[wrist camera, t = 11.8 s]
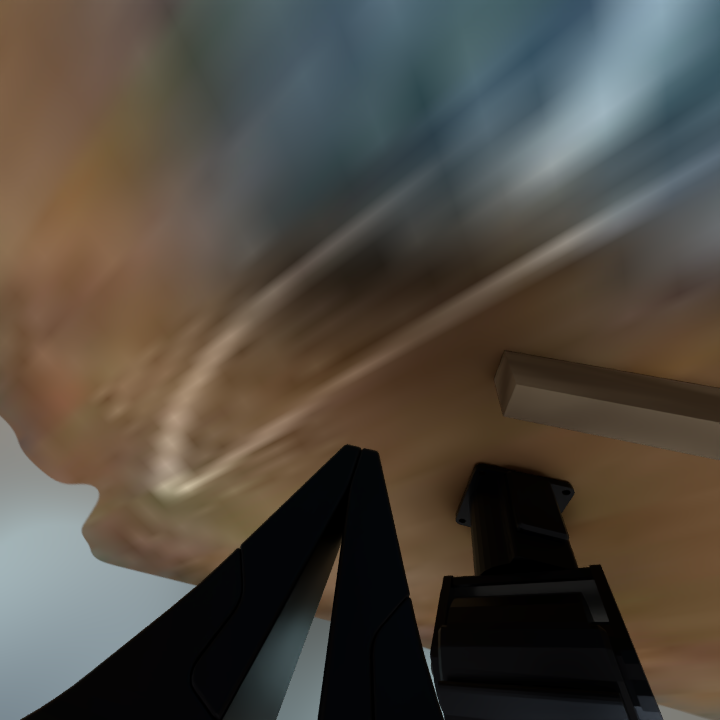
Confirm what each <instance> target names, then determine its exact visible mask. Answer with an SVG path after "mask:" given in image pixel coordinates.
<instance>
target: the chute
mask: <svg viewBox="0 0 720 720" xmlns="http://www.w3.org/2000/svg"><path fill="white" fill-rule="evenodd" d="M494 382H495V386H496V390H497V394H498V398H499V402H500V406H501V410H502V414H503V416H504V417H509V418H514V419H519V420H524V421H529V422H534V423H539V424H544V425H549V426H554V427H559V428H563V429H568V430H573V431H578V432H583V433H588V434H593V435H598V436H603V437H608V438H613V439H618V440H623V441H627V442H632V443H637V444H642V445H647V446H652V447H657V448H662V449H667V450H672V451H677V452H682V453H687V454H692V455H696V456H701V457H706V458H711V459H716V460H720V388H715V387H709V386H704V385H698V384H692V383H686V382H681V381H675V380H669V379H664V378H658V377H652V376H647V375H641V374H635V373H630V372H624V371H618V370H612V369H607V368H601V367H595V366H590V365H584V364H578V363H573V362H567V361H561V360H556V359H550V358H544V357H538V356H533V355H527V354H521V353H516V352H510V351H504V353H503V356H502V359H501V361H500V364H499V367H498V370H497V372H496V375H495V378H494Z"/></svg>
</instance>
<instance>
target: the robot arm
mask: <svg viewBox="0 0 720 720" xmlns="http://www.w3.org/2000/svg"><path fill="white" fill-rule="evenodd" d="M481 471H483V472H481ZM574 493H575V492H574V489H573V487H572V485H571V484H569V483H566V482H561V481H557V480H552V479H548V478H543V477H539V476H534V475H530V474H526V473H521V472H517V471H512V470H508V469H503V468H499V467H494V466H490V465H486V464H478V465H476V466H475V467H474V470H473V472H472V475H471V477H470V480H469V482H468V485H467V487H466V490H465V492H464V495H463V497H462V500H461V502H460V505H459V508H458V510H457V513H456V522H457V523H458V524H460V525H464V526H468V527H471V535H472V547H473V560H474V572H475V576H461V577H453V575H452V576H444V578H443V583H442V589H441V592H440V598H439V604H438V610H437V616H436V622H435V627H434V633H433V639H432V645H431V651H430V658H431V670H432V674H433V676H434V683H435V688H436V692H435V689H434V686H433V682H432V679H431V676H430V673H429V669H428V666H427V662H426V659H425V655H424V651H423V647H422V643H421V639H420V635H419V631H418V627H417V623H416V619H415V614H414V610H413V605H412V601H411V598H409V595H410V593H409V588H408V584H407V579H406V574H405V570H404V565H403V561H402V556H401V552H400V547H399V543H398V538H397V534H396V529H395V525H394V520H393V515H392V511H391V506H390V502H389V497H388V493H387V488H386V484H385V479H384V475H383V470H382V466H381V461H380V456H379V453H378V452H377V451H375V450H370V449H366V448H363V449H362V450H361V448H360V447H357V446H353V445H348V444H347V445H344V446H343V447H342V448H341V449H340V450H339V451H338V452H337V453H336V454H335V455H334V456H333V457H332V458H331V459H330V460H329V461H328V462H327V463H326V464H325V465H323V466H322V467H321V468H320V469H319V470H318V471H317V472H316V473H315V474H314V475H313V476H312V477H311V478H310V479H309V480H308V481H307V482H306V483H305V484H304V485H303V486H302V487H301V488H300V489H298V490H297V491H296V492H295V493H294V494H293V495H292V496H291V497H290V498H289V499H288V500H287V501H286V502H285V503H284V504H283V505H282V506H281V507H280V508H279V509H278V510H277V511H276V512H275V513H274V514H272V515H271V516H270V517H269V518H268V519H267V520H266V521H265V522H264V523H263V524H262V525H261V526H260V527H259V528H258V529H257V530H256V531H255V532H254V533H253V534H252V535H251V536H250V537H249V538H247V539H246V540H245V541H244V542H243V543H242V544H241V546H240V548H237V549H236V550H235V551H234V552H233V553H232V554H231V555H230V556H229V557H227V558H226V559H225V560H224V561H223V562H222V563H221V564H220V565H219V566H218V567H217V568H216V569H215V570H214V571H212V572H211V573H210V574H209V575H208V576H207V577H206V578H205V579H204V580H203V581H202V582H200V583H199V584H198V585H197V586H196V587H195V588H194V589H192V590H191V591H190V592H189V593H188V594H186V595H185V596H184V597H183V598H182V599H180V600H179V601H178V602H177V603H176V604H174V605H173V606H172V607H171V608H170V609H168V610H167V611H166V612H165V613H164V614H162V615H161V616H160V617H158V618H157V619H156V620H155V621H153V622H152V623H151V624H150V625H149V626H147V627H146V628H145V629H143V630H142V631H141V632H140V633H138V634H137V635H136V636H135V637H133V638H132V639H131V640H130V641H128V642H127V643H126V644H125V645H123V646H122V647H121V648H120V649H118V650H117V651H116V652H115V653H113V654H112V655H111V656H110V657H109V658H107V659H106V660H105V661H104V662H102V663H101V664H100V665H98V666H97V667H96V668H95V669H94V670H92V671H91V672H90V673H88V674H87V675H86V676H85V677H83V678H82V679H81V680H79V682H77V683H76V684H74V685H73V686H72V687H70V688H69V689H68V690H66V691H65V692H63V693H62V694H60V695H59V696H58V697H56V698H55V699H53V700H52V701H50V702H49V703H47V704H45V705H44V706H42V707H41V708H40V709H38V710H36V711H34V712H32V713H31V714H29V715H27V716H26V717H24V718H22V719H21V720H276V719H277V716H278V713H279V710H280V708H281V705H282V702H283V700H284V697H285V694H286V691H287V689H288V686H289V683H290V681H291V678H292V675H293V672H294V669H295V667H296V664H297V662H298V659H299V656H300V653H301V651H302V648H303V645H304V642H305V640H306V637H307V634H308V631H309V629H310V626H311V624H312V621H313V618H314V615H315V613H316V610H317V607H318V605H319V602H320V599H321V597H322V594H323V591H324V588H325V586H326V583H327V580H328V578H329V575H330V572H331V569H332V567H333V564H334V561H335V559H336V556H337V553H338V550H339V548H340V545H341V549H340V557H339V564H338V572H337V579H336V587H335V594H334V601H333V609H332V616H331V624H330V631H329V639H328V646H327V653H326V661H325V668H324V676H323V684H322V691H321V698H320V705H319V713H318V720H444V719H445V720H663V718H662V715H661V712H660V710H659V708H658V705H657V702H656V700H655V697H654V695H653V693H652V690H651V688H650V685H649V683H648V680H647V678H646V675H645V673H644V670H643V668H642V665H641V663H640V660H639V658H638V655H637V653H636V650H635V648H634V645H633V643H632V640H631V638H630V636H629V633H628V631H627V628H626V626H625V623H624V621H623V618H622V616H621V613H620V611H619V608H618V606H617V604H616V601H615V599H614V596H613V594H612V591H611V589H610V587H609V584H608V582H607V579H606V577H605V574H604V572H603V570H602V567H601V565H600V564H599V565H589V566H590V567H586V568H578V565H577V562H576V559H575V556H574V554H573V551H572V548H571V545H570V542H569V535H568V532H567V529H566V526H565V523H564V520H563V517H562V515H561V513H562V512H563V510H564V509H565V507H566V506H567V504H568V503H569V501H570V500H571V498H572V497H573V495H574ZM436 693H437V696H436ZM437 697H438V699H437ZM438 700H439V702H438ZM439 704H440V705H439ZM440 706H441V709H442V711H443V713H444V718H443V715H442V712H441V709H440Z"/></svg>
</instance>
